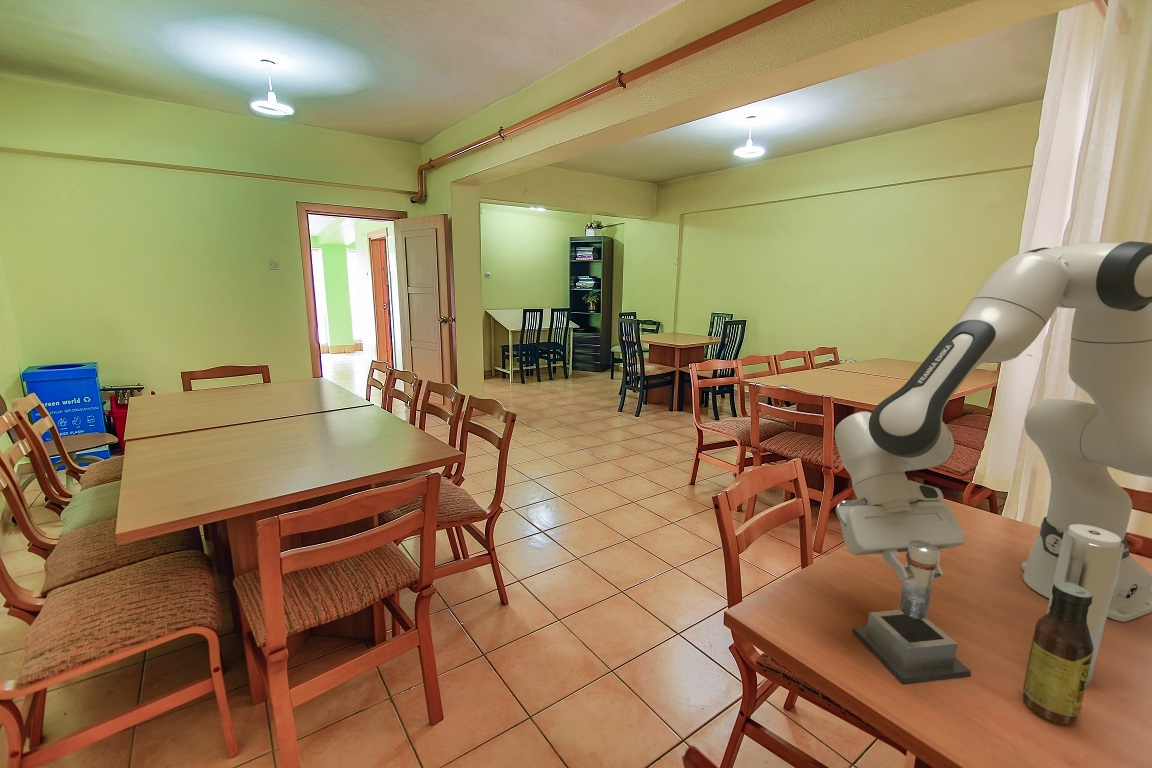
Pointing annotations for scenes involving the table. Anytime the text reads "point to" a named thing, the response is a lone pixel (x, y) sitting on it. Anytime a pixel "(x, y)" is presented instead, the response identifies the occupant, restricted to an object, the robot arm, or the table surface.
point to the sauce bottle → (1060, 656)
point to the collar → (911, 647)
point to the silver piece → (1090, 573)
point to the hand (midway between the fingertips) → (921, 578)
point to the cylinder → (918, 579)
